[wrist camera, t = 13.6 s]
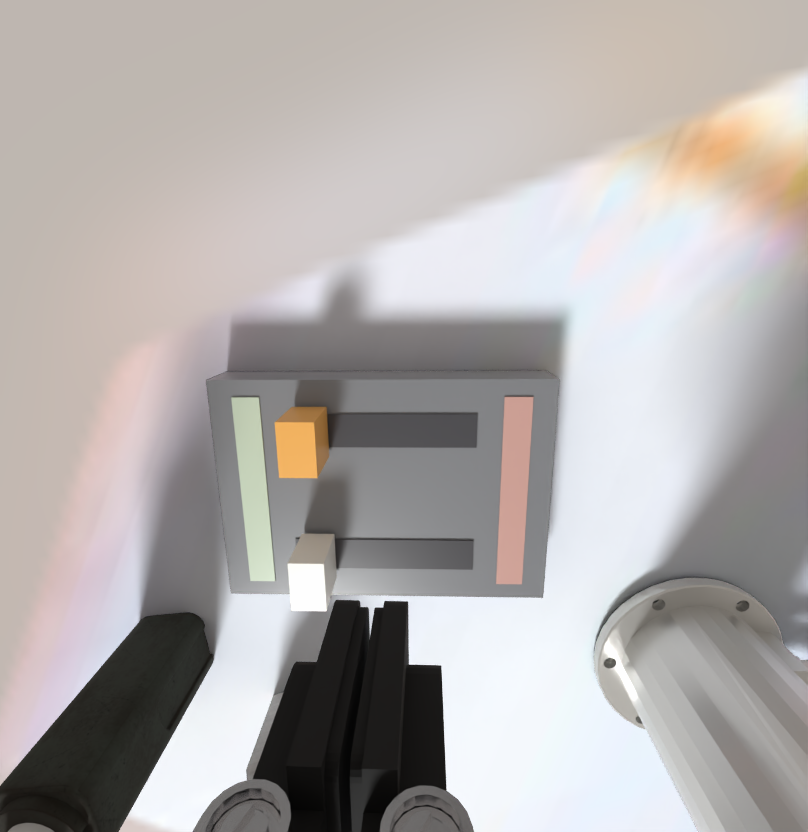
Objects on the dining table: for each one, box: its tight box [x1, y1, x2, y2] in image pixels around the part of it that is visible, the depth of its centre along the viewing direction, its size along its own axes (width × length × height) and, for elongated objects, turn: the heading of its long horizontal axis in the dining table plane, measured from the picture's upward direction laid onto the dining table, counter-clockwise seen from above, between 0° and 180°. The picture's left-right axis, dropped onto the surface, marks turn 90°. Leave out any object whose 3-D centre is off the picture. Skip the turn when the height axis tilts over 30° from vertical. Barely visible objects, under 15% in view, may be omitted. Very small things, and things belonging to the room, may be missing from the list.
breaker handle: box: [275, 407, 329, 478], centre depth 26 cm, size 2×3×3 cm, turn 1°
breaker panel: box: [206, 370, 560, 611], centre depth 28 cm, size 20×14×7 cm
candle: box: [0, 613, 213, 832], centre depth 23 cm, size 5×5×25 cm
